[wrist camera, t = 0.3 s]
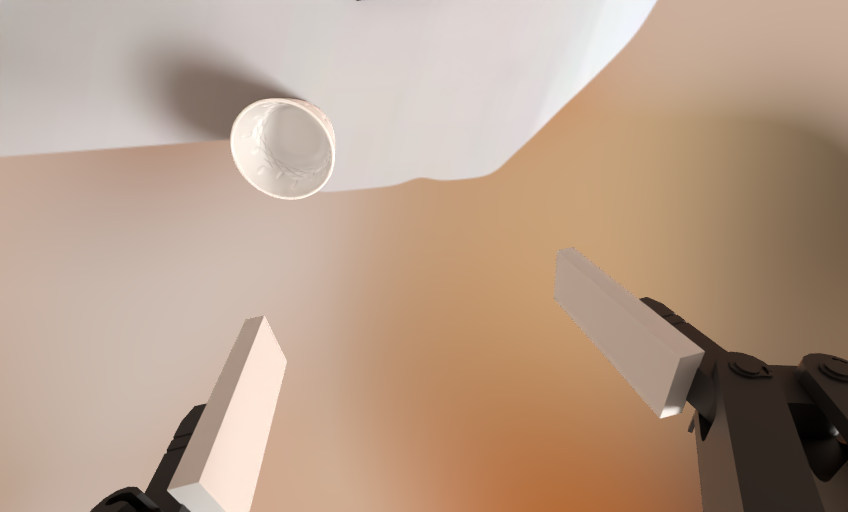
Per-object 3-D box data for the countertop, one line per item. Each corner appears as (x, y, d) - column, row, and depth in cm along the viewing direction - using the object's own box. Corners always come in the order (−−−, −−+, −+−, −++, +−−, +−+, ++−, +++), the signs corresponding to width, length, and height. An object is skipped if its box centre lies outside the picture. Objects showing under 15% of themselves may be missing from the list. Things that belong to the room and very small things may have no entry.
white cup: (267, 170, 36) (239, 198, 28) (256, 90, 33) (220, 94, 24) (341, 172, 38) (336, 200, 29) (338, 96, 34) (331, 102, 26)
